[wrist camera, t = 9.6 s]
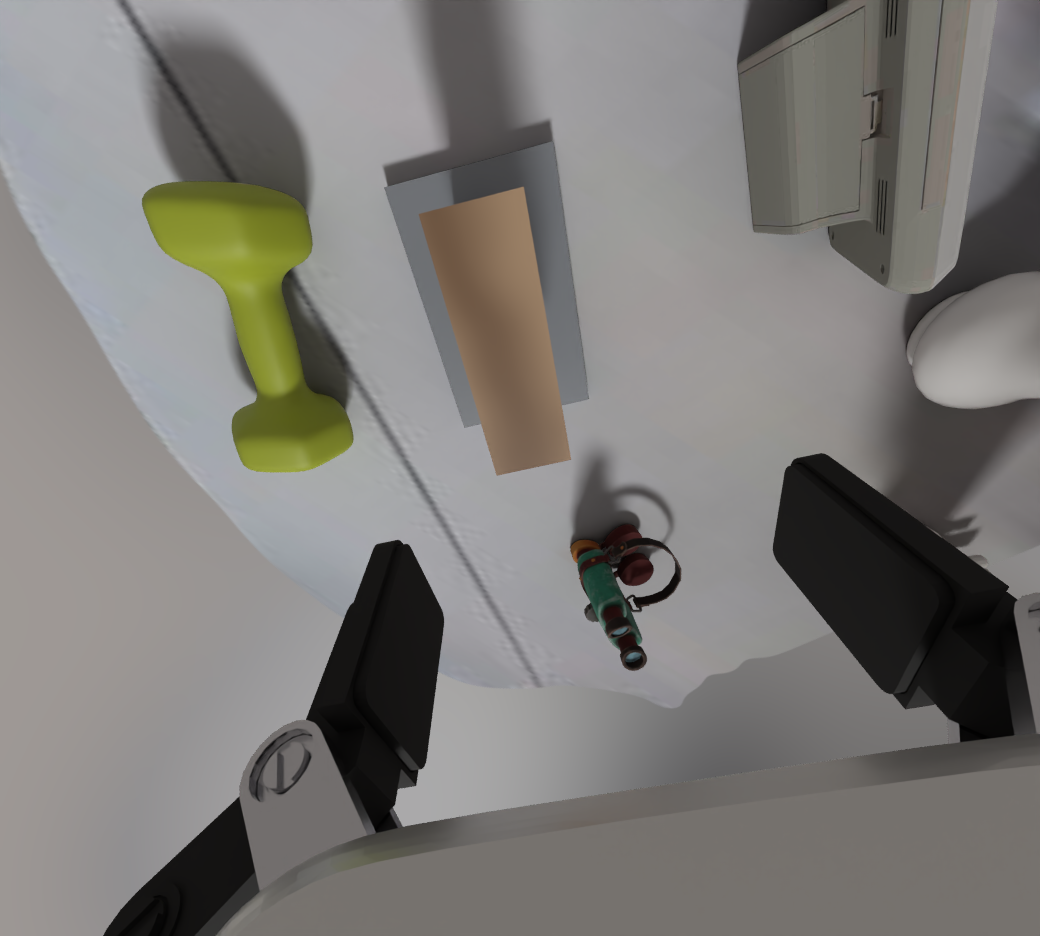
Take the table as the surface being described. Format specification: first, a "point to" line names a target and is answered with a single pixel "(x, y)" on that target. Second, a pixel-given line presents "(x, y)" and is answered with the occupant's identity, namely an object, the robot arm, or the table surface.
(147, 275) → the table surface
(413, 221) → the display stand
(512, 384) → the tan bar
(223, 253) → the dumbbell
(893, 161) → the digital clock
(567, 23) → the table surface
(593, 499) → the table surface
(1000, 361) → the flower vase
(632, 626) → the binoculars
